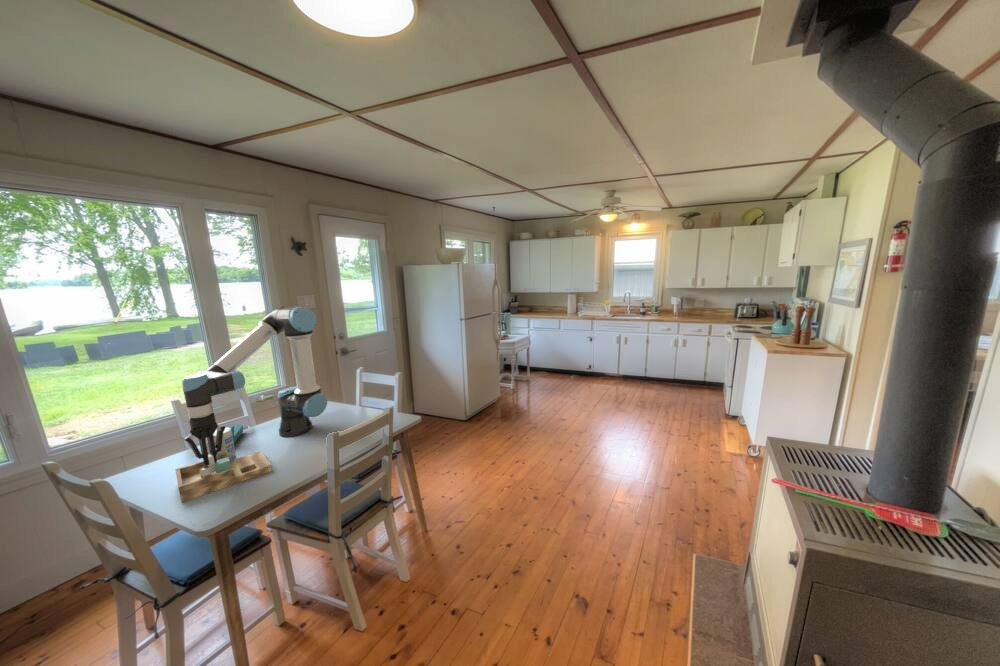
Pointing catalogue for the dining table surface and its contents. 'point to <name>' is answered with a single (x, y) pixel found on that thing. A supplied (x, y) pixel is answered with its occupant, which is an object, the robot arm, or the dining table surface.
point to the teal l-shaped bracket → (236, 431)
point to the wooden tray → (219, 475)
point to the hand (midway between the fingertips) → (212, 471)
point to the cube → (222, 465)
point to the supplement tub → (225, 444)
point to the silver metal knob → (205, 472)
